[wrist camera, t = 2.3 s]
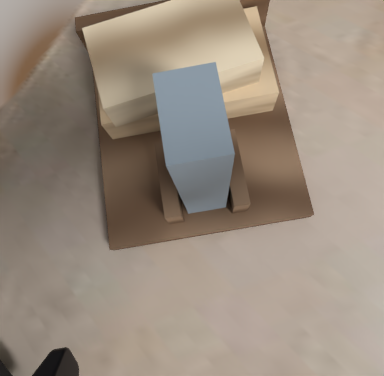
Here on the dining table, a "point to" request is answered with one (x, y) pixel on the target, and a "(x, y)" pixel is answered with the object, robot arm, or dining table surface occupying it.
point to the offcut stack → (178, 59)
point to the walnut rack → (165, 188)
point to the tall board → (195, 135)
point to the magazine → (4, 370)
